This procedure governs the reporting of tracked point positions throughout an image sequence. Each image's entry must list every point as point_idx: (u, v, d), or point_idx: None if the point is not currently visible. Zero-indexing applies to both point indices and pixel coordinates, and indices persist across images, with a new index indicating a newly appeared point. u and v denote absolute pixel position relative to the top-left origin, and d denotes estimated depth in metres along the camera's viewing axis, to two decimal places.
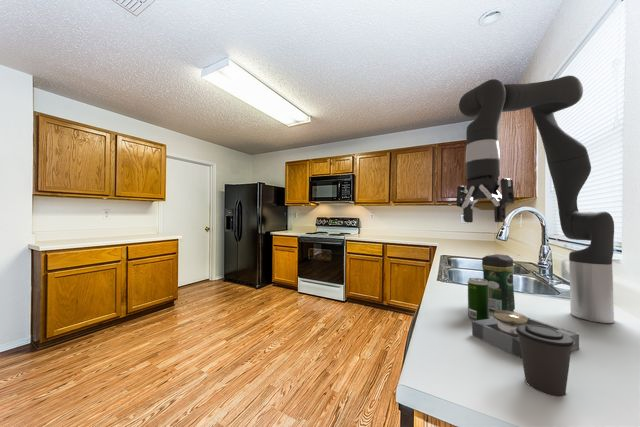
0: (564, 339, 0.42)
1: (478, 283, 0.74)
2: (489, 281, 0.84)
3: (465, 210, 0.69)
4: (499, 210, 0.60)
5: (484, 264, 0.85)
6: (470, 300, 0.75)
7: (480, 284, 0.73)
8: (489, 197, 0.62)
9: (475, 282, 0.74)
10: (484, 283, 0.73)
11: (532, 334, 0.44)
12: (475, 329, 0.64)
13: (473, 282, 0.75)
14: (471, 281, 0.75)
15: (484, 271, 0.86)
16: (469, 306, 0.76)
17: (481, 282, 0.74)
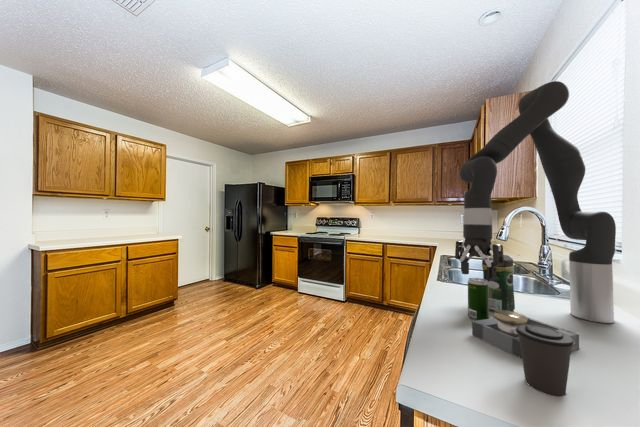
0: (564, 339, 0.42)
1: (478, 283, 0.74)
2: (489, 281, 0.84)
3: (462, 264, 0.80)
4: (491, 270, 0.71)
5: (484, 264, 0.85)
6: (470, 300, 0.75)
7: (480, 284, 0.73)
8: (483, 258, 0.73)
9: (475, 282, 0.74)
10: (484, 283, 0.73)
11: (532, 334, 0.44)
12: (475, 329, 0.64)
13: (473, 282, 0.75)
14: (471, 281, 0.75)
15: (484, 271, 0.86)
16: (469, 306, 0.76)
17: (481, 282, 0.74)
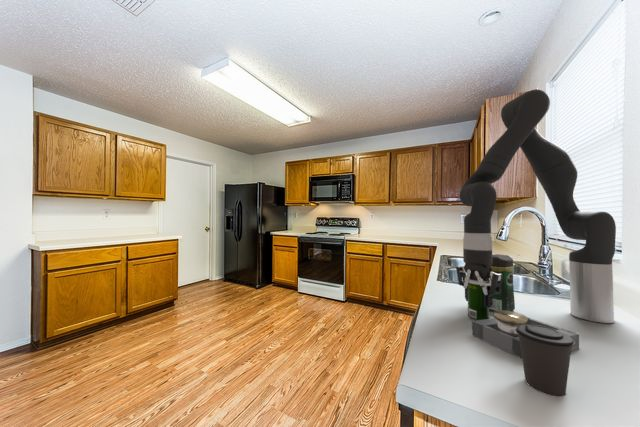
0: (564, 339, 0.42)
1: (478, 283, 0.74)
2: None
3: (466, 291, 0.78)
4: (487, 298, 0.72)
5: None
6: (470, 300, 0.75)
7: None
8: (480, 284, 0.73)
9: (475, 282, 0.74)
10: None
11: (532, 334, 0.44)
12: (475, 329, 0.64)
13: (473, 282, 0.75)
14: (471, 281, 0.75)
15: None
16: (469, 306, 0.76)
17: None
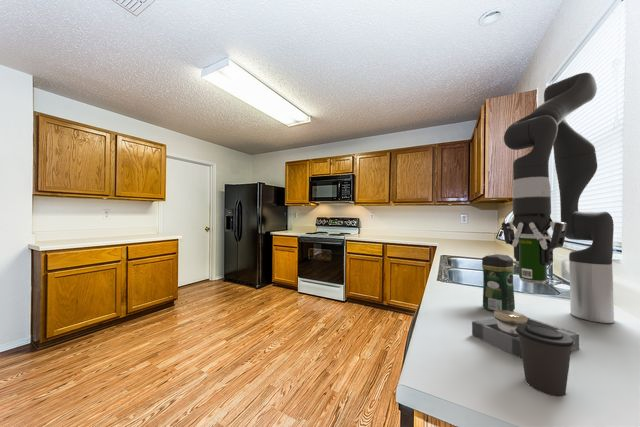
0: (564, 339, 0.42)
1: (534, 236, 0.62)
2: (489, 281, 0.84)
3: (516, 249, 0.66)
4: (546, 253, 0.60)
5: (484, 264, 0.85)
6: (523, 258, 0.63)
7: None
8: (538, 238, 0.61)
9: (530, 236, 0.62)
10: None
11: (532, 334, 0.44)
12: (475, 329, 0.64)
13: (527, 236, 0.63)
14: (524, 235, 0.63)
15: (484, 271, 0.86)
16: (521, 265, 0.64)
17: None
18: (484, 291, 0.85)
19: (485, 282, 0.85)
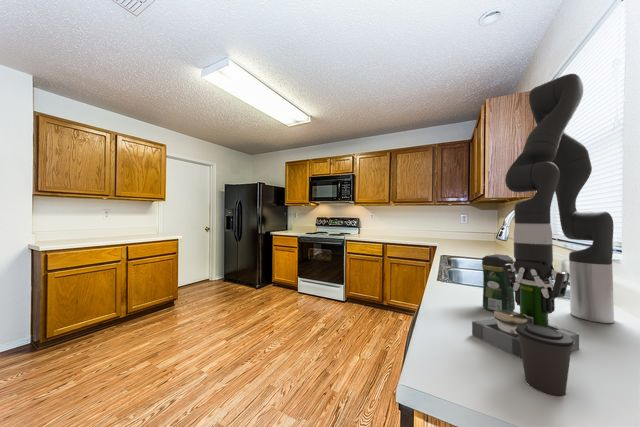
0: (564, 339, 0.42)
1: (535, 284, 0.61)
2: (489, 281, 0.84)
3: (517, 293, 0.66)
4: (548, 302, 0.60)
5: (484, 264, 0.85)
6: (524, 304, 0.63)
7: None
8: (539, 285, 0.60)
9: (531, 283, 0.62)
10: None
11: (532, 334, 0.44)
12: (475, 329, 0.64)
13: (528, 283, 0.62)
14: (525, 281, 0.63)
15: (484, 271, 0.86)
16: (523, 311, 0.63)
17: None
18: (484, 291, 0.85)
19: (485, 282, 0.85)
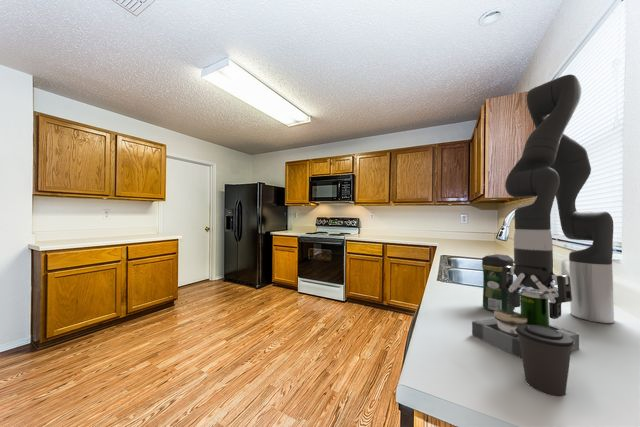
0: (564, 339, 0.42)
1: (536, 296, 0.61)
2: (489, 281, 0.84)
3: (513, 294, 0.67)
4: (554, 307, 0.58)
5: (484, 264, 0.85)
6: None
7: (539, 297, 0.61)
8: (543, 291, 0.60)
9: (532, 295, 0.61)
10: (544, 296, 0.61)
11: (532, 334, 0.44)
12: (475, 329, 0.64)
13: (529, 295, 0.62)
14: (526, 293, 0.62)
15: (484, 271, 0.86)
16: None
17: (540, 295, 0.61)
18: (484, 291, 0.85)
19: (485, 282, 0.85)
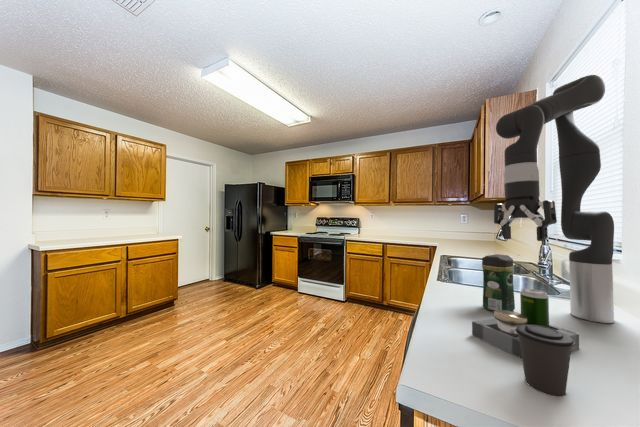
0: (564, 339, 0.42)
1: (536, 296, 0.61)
2: (489, 281, 0.84)
3: (504, 227, 0.73)
4: (541, 230, 0.64)
5: (484, 264, 0.85)
6: None
7: (539, 297, 0.61)
8: (531, 217, 0.66)
9: (532, 295, 0.61)
10: (544, 296, 0.61)
11: (532, 334, 0.44)
12: (475, 329, 0.64)
13: (529, 295, 0.62)
14: (526, 293, 0.62)
15: (484, 271, 0.86)
16: None
17: (540, 295, 0.61)
18: (484, 291, 0.85)
19: (485, 282, 0.85)
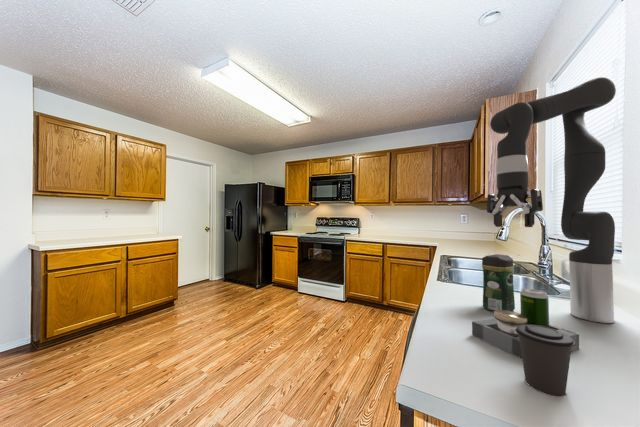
0: (564, 339, 0.42)
1: (536, 296, 0.61)
2: (489, 281, 0.84)
3: (495, 216, 0.78)
4: (528, 216, 0.70)
5: (484, 264, 0.85)
6: None
7: (539, 297, 0.61)
8: (519, 205, 0.71)
9: (532, 295, 0.61)
10: (544, 296, 0.61)
11: (532, 334, 0.44)
12: (475, 329, 0.64)
13: (529, 295, 0.62)
14: (526, 293, 0.62)
15: (484, 271, 0.86)
16: None
17: (540, 295, 0.61)
18: (484, 291, 0.85)
19: (485, 282, 0.85)
